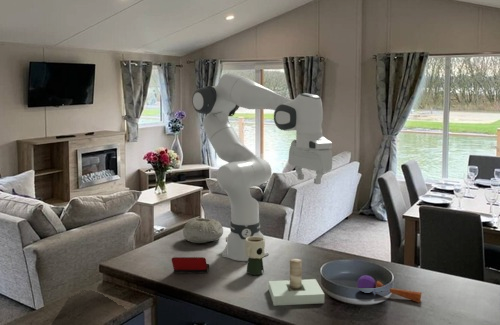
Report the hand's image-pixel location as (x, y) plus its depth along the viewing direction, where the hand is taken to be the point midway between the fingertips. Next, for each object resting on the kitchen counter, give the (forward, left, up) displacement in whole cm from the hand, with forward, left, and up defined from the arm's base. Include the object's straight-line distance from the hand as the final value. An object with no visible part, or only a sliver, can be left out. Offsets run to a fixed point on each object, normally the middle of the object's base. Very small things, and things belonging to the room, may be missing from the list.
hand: (308, 181), depth 163 cm
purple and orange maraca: (+17, +23, -36) cm, 46 cm away
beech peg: (+14, -7, -35) cm, 38 cm away
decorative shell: (-47, -37, -35) cm, 70 cm away
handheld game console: (-12, -41, -36) cm, 56 cm away
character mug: (-7, -18, -35) cm, 40 cm away
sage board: (+14, -7, -35) cm, 38 cm away
